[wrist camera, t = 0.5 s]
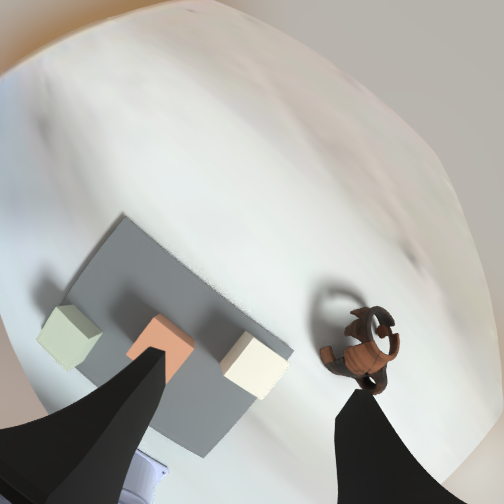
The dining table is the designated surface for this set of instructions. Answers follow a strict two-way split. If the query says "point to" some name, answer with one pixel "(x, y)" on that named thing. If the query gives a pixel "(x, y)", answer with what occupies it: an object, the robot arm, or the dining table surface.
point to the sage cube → (68, 336)
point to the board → (180, 314)
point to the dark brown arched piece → (365, 350)
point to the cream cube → (253, 365)
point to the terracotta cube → (164, 343)
